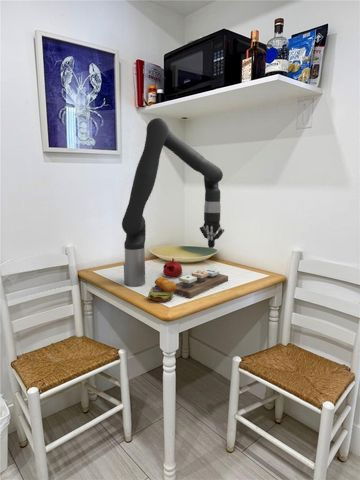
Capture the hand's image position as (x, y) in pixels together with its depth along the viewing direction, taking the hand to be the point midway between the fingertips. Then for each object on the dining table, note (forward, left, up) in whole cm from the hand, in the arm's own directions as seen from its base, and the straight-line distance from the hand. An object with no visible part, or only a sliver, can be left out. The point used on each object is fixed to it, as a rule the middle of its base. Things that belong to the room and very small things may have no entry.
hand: (211, 247), depth 157 cm
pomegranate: (-20, -5, -17) cm, 27 cm away
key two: (0, -9, -14) cm, 17 cm away
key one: (0, -18, -14) cm, 23 cm away
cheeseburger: (-3, -31, -17) cm, 36 cm away
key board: (0, -9, -17) cm, 19 cm away
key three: (0, 0, -15) cm, 15 cm away
